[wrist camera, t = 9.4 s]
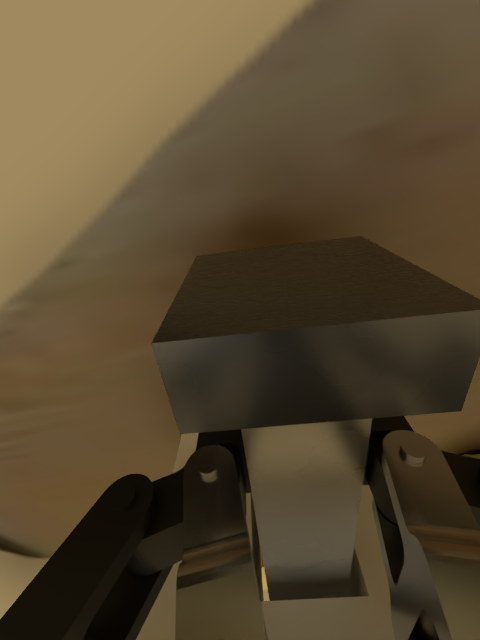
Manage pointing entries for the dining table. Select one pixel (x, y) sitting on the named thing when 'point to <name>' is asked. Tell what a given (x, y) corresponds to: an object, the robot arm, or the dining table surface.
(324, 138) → the dining table surface
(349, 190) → the dining table surface
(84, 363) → the dining table surface
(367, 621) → the bracket
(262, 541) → the shaft
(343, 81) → the dining table surface
